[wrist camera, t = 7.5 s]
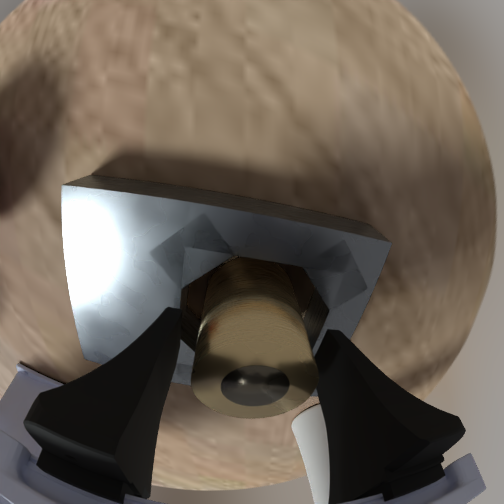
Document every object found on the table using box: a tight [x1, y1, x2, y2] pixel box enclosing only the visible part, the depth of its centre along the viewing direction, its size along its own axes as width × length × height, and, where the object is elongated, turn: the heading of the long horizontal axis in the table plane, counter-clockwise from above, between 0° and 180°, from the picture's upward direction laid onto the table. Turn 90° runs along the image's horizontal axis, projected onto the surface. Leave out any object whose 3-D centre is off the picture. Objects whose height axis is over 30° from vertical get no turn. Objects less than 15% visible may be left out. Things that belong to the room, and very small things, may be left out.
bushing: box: [191, 257, 319, 418], centre depth 11 cm, size 4×4×6 cm
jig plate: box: [62, 175, 392, 396], centre depth 13 cm, size 14×10×2 cm
